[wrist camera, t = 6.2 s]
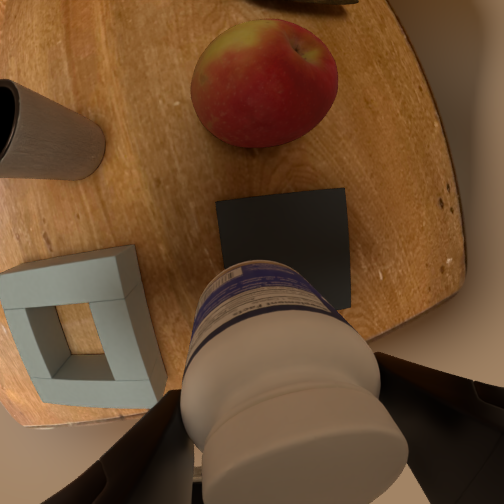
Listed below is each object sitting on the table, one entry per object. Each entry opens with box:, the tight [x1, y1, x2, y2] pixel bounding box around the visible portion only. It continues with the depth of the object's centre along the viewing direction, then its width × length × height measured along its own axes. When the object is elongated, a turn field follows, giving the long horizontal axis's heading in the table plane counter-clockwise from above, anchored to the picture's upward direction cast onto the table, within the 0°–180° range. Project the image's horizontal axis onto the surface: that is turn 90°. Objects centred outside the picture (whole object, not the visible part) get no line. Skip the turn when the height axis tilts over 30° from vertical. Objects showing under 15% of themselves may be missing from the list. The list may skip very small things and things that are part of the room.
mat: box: [215, 188, 351, 310], centre depth 20 cm, size 9×9×1 cm
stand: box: [0, 244, 168, 409], centre depth 18 cm, size 11×11×4 cm
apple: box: [191, 19, 338, 148], centre depth 14 cm, size 8×8×8 cm
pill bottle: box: [180, 260, 409, 504], centre depth 8 cm, size 5×5×9 cm
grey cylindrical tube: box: [0, 79, 105, 180], centre depth 12 cm, size 4×4×10 cm
